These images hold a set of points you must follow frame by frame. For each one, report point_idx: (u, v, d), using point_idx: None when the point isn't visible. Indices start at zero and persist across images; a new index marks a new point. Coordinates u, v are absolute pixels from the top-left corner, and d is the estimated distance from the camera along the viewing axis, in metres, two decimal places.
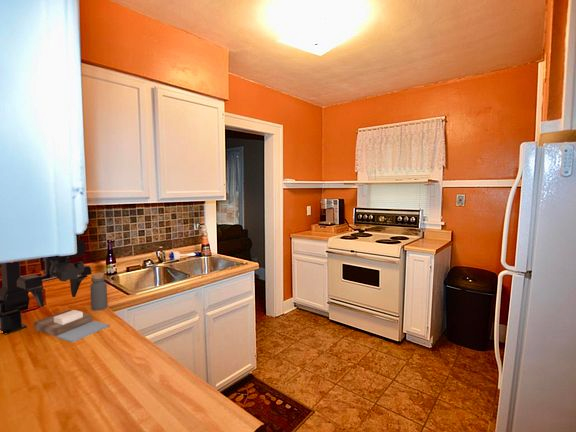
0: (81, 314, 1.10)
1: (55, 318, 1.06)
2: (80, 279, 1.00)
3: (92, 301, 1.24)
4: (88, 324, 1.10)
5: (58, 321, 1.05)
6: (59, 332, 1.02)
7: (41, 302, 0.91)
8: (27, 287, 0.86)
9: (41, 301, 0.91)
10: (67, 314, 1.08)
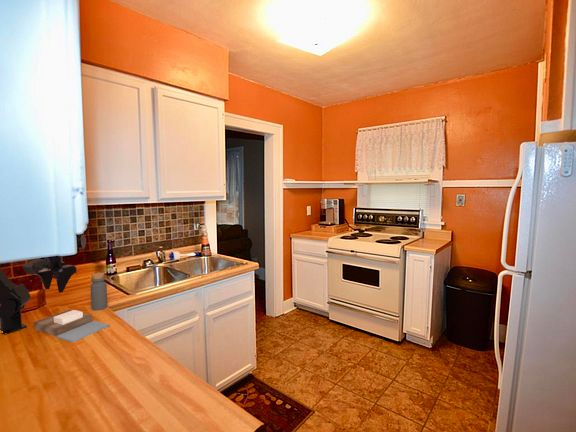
0: (81, 314, 1.10)
1: (55, 318, 1.06)
2: None
3: (92, 301, 1.24)
4: (88, 324, 1.10)
5: (58, 321, 1.05)
6: (59, 332, 1.02)
7: (44, 285, 1.11)
8: None
9: (44, 285, 1.11)
10: (67, 314, 1.08)
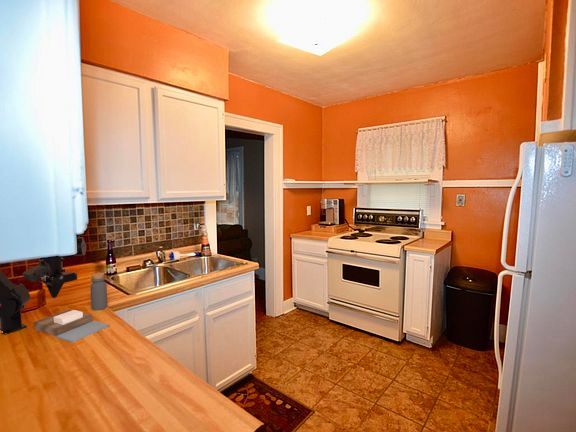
0: (81, 314, 1.10)
1: (55, 318, 1.06)
2: (48, 283, 1.07)
3: (92, 301, 1.24)
4: (88, 324, 1.10)
5: (58, 321, 1.05)
6: (59, 332, 1.02)
7: None
8: None
9: (50, 293, 1.10)
10: (67, 314, 1.08)
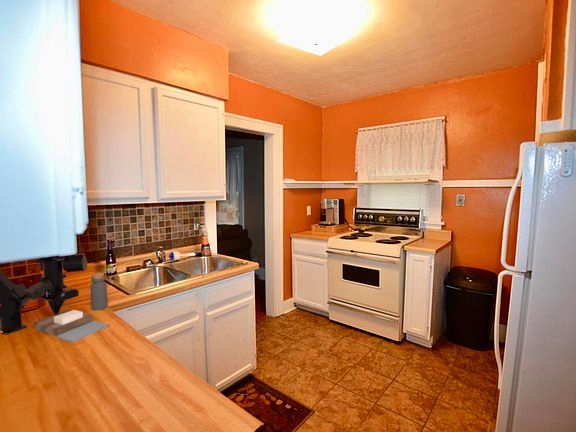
0: (81, 314, 1.10)
1: (55, 318, 1.06)
2: (50, 300, 1.08)
3: (92, 301, 1.24)
4: (88, 324, 1.10)
5: (58, 321, 1.05)
6: (59, 332, 1.02)
7: (52, 310, 1.10)
8: None
9: (52, 309, 1.10)
10: (67, 314, 1.08)
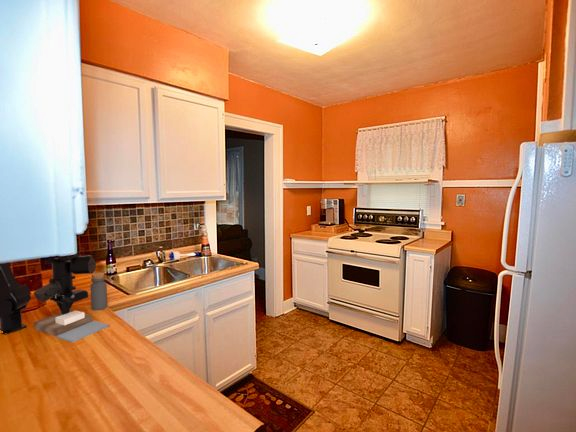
0: (83, 315, 1.10)
1: (57, 319, 1.05)
2: (59, 302, 1.06)
3: (92, 301, 1.24)
4: (88, 324, 1.10)
5: (60, 322, 1.05)
6: (59, 332, 1.02)
7: (61, 312, 1.08)
8: None
9: (61, 311, 1.08)
10: (69, 315, 1.08)
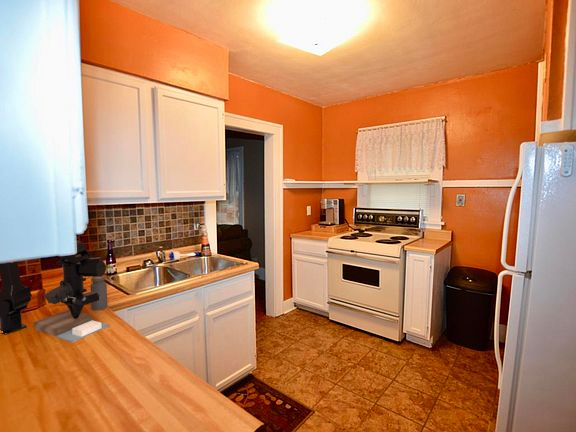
0: None
1: (79, 335, 1.01)
2: (70, 304, 1.04)
3: None
4: None
5: (76, 331, 1.02)
6: (59, 332, 1.02)
7: (72, 315, 1.06)
8: None
9: None
10: None
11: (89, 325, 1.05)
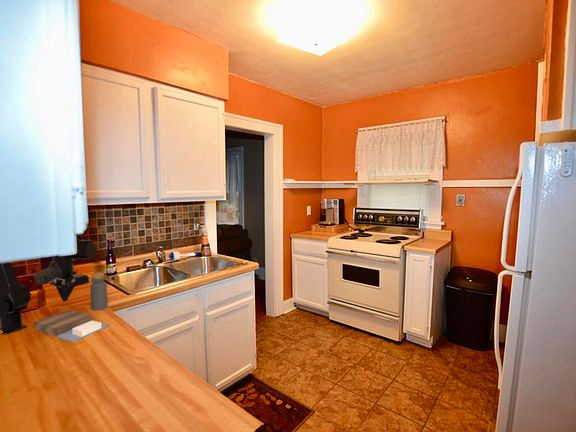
0: None
1: (79, 335, 1.01)
2: (59, 286, 1.03)
3: (92, 301, 1.24)
4: None
5: (76, 331, 1.02)
6: (59, 332, 1.02)
7: (61, 297, 1.05)
8: None
9: (61, 296, 1.05)
10: None
11: (89, 325, 1.05)
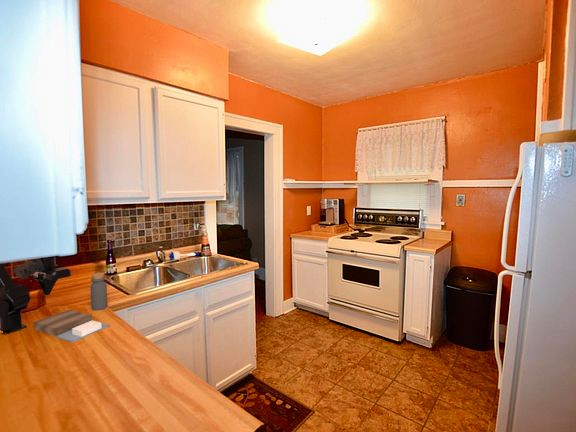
0: None
1: (79, 335, 1.01)
2: (40, 280, 1.02)
3: (92, 301, 1.24)
4: None
5: (76, 331, 1.02)
6: (59, 332, 1.02)
7: (43, 291, 1.05)
8: None
9: (43, 290, 1.05)
10: None
11: (89, 325, 1.05)
